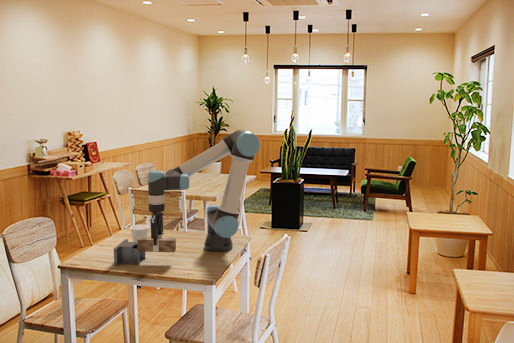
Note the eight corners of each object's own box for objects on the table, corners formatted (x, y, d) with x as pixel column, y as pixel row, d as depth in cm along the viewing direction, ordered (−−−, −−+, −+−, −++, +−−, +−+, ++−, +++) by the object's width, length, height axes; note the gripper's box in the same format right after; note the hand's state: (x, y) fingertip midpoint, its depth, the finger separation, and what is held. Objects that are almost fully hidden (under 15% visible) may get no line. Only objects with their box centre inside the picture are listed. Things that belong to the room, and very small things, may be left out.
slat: (175, 249, 250) (175, 238, 249) (174, 252, 246) (174, 240, 245) (139, 248, 250) (139, 237, 249) (137, 251, 246) (137, 239, 245)
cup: (145, 250, 267) (144, 230, 265) (127, 249, 269) (126, 228, 267) (152, 244, 276) (151, 225, 274) (135, 243, 278) (134, 223, 276)
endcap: (147, 256, 257) (147, 240, 256) (137, 266, 243) (136, 249, 241) (125, 255, 259) (125, 239, 257) (114, 265, 244) (113, 248, 242)
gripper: (154, 198, 253) (155, 243, 257) (143, 206, 236) (144, 255, 240) (169, 199, 252) (170, 244, 256) (158, 207, 235) (159, 255, 239)
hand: (157, 249), depth 248 cm, fingers closed on slat, 4 cm apart
